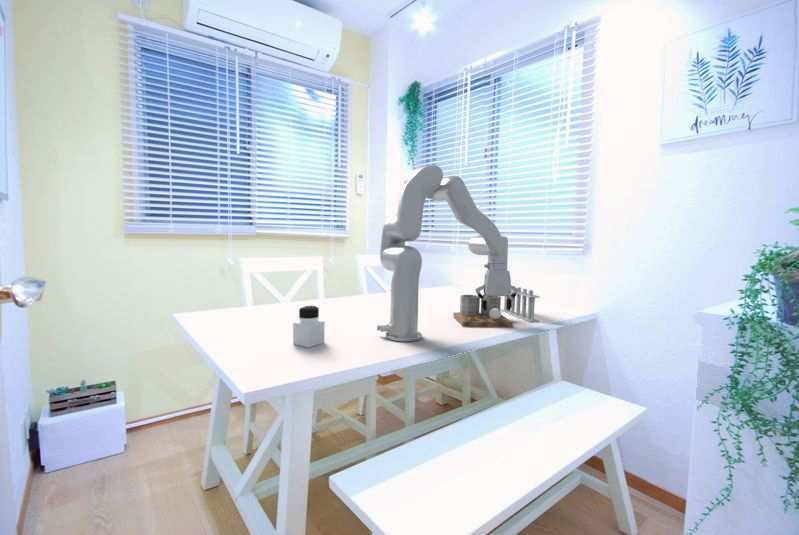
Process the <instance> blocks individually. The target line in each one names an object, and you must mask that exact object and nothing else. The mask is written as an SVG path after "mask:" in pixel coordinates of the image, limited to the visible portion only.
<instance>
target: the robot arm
mask: <svg viewBox="0 0 799 535" xmlns="http://www.w3.org/2000/svg"><path fill="white" fill-rule="evenodd" d="M403 183H404V186H403V188H402V189H401V192H400V194H399V195H400V196H399V201H398V202H399V203H398V205H397V206H398V208H397V213H396V214H393V215H391V216H389V217H388V218H387V219H386V220H385V221H384V224H383V226H382V231H381V232H382V233H381V242H380V251H379V252H380V254H379V258H380V259H379V260H380V264H381V265H382V267H383V268H384V269H385V270H387V271H389V272H393V274H392V278H391V283H390V317H389V318H390V320H389V322H388V324H387V323H386V325H383V324H377V325H376V331H377V332H378V331H379V332H381V333H383V332H385V338H387V339H388V340H391V341H395V342H414V341H415V342H416V341H418V340H421V339H422V338H423V334H422V332H420V331H419V330H418V328H419V327H418V323H419V321H418V320H419V319H418V318H419V291H420V290H419V286H420V285H419V284H420V276H421V275H420V274H421V270H422V264H423V259H422V255H421V252H420V251H419V250H418V249H417V248H416V247H413V246H411V245H406V242H408V243H409V242H410V243H411V242H414V241H416V240H418V239H419V237H420V235H421V232H422V227H423V226H422V225H423V224H422V223H423V216H424V215H423V213H424V207H425V203H426V199H428V200H432V201H437V202H443V201H446V203H447V204H448V206H449V208H450V210H451V211H452V212H451V213H452V214H453V215H454V217H455V219H456V221H457V222H459V223H460V224H462V225H464V226H466V227H468V228H470V229H472V230H474V231H476V233H477V234H479V235H475V236H473V237H472V238H470V240H469V241H468V250H469V251H470V252H471V253H472V254H474V255H477V256H487V257H488V258H487V263H486V264H483V265H484V267H483V268H485V269H487V270H485V274H484V280H483V281H484V282H483V284H482V285H481V286H479V287H477V288H475V293H476V294H477V296H479V297H480V300H481V299H482V308H483V310H487V301H486V299H487V297H488V296H500V297H505V296H506V297H507V300H506V309H508V310H510V311H511V307H512V300H513V298H514V297H515V298H516V297H517V293H518V291H519V289H517V287H516V286H515V287H516V288H515V287H513V286H514V285H512V280H511V272H510V270H508V256H509V255H508V254H509V252H508V251H509V250H508V249H509V239H508V237H507V236H505V235H501V233H500V231H499V229H498V227H497V225H496V224H495V223H494V222H493V220H491V219H490V218H489V217H488V216H487V215H485V214H484V212H482V211H481V210H479V208H478V207H477V205H476V204H475V201H474V200H473V198H472V195H471V193H470V191H469V189H468V188H467V186H466V184H465V182H464V180H463V179H462V178H461V177H460V176H459V175H449V176H444V172H443V169H442V168H441V167H440V166H439V165H436V164H430V165H429V164H428V165H426V166H421V167H418V168H416V169H411V170H410V171H408V172H407V173H406V174H405V177H404V180H403ZM511 289H513V290H514V292H513V293H512V294H511ZM482 290H483V294H482V293H481V291H482Z"/></svg>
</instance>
